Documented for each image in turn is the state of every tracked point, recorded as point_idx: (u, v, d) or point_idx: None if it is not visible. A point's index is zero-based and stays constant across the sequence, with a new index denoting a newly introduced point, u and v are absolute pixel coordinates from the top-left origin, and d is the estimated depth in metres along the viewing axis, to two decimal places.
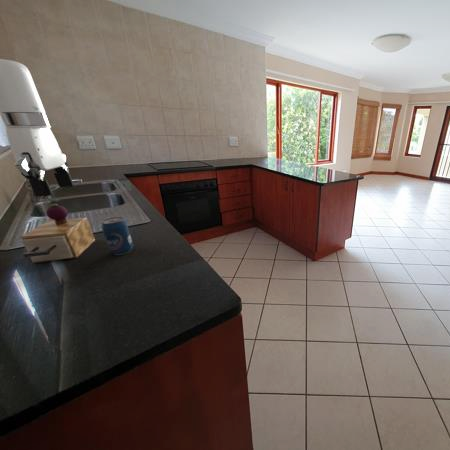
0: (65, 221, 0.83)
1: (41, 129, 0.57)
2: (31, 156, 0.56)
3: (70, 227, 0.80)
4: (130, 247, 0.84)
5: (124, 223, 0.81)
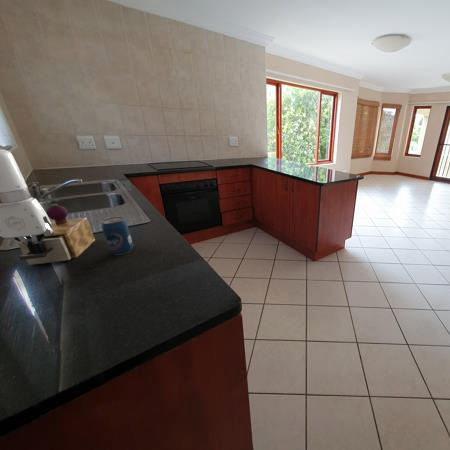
0: (65, 221, 0.83)
1: None
2: (47, 218, 0.70)
3: (70, 227, 0.80)
4: (130, 247, 0.84)
5: (124, 223, 0.81)
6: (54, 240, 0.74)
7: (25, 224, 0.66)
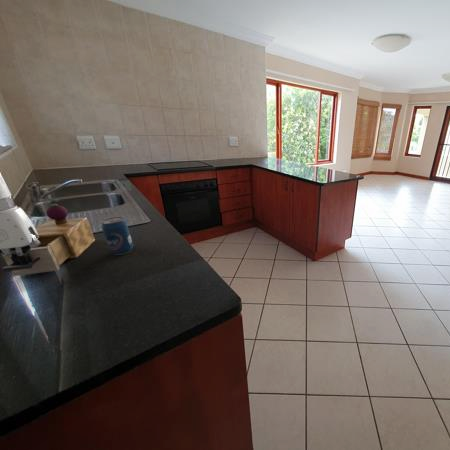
0: (65, 221, 0.83)
1: None
2: (33, 229, 0.65)
3: (70, 227, 0.80)
4: (130, 247, 0.84)
5: (124, 223, 0.81)
6: (41, 249, 0.69)
7: (8, 235, 0.61)
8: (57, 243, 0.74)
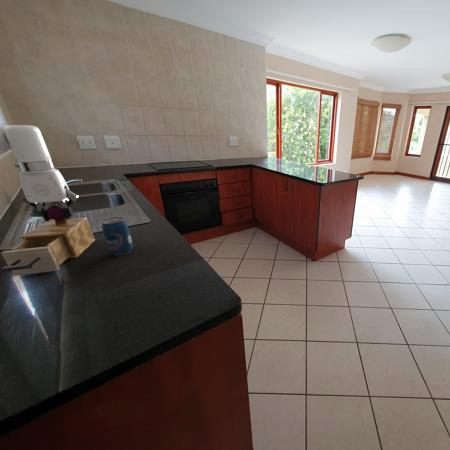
0: (65, 221, 0.83)
1: None
2: (67, 188, 0.81)
3: (70, 227, 0.80)
4: (130, 247, 0.84)
5: (124, 223, 0.81)
6: (41, 249, 0.69)
7: (49, 191, 0.77)
8: (58, 243, 0.74)
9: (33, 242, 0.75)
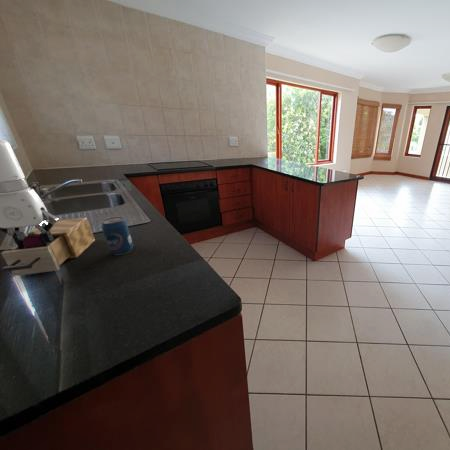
0: None
1: None
2: (44, 209, 0.70)
3: (70, 227, 0.80)
4: (130, 247, 0.84)
5: (124, 223, 0.81)
6: (41, 249, 0.69)
7: (22, 214, 0.66)
8: (58, 243, 0.74)
9: None
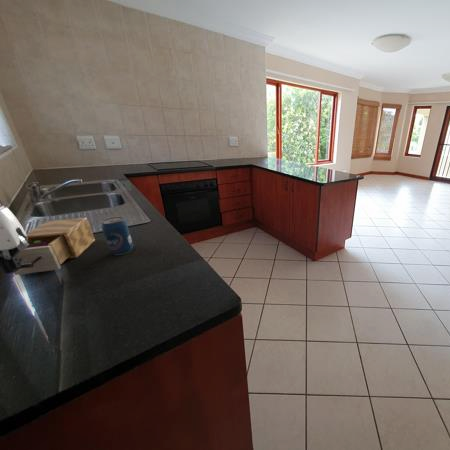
0: None
1: None
2: (21, 230, 0.61)
3: (70, 227, 0.80)
4: (130, 247, 0.84)
5: (124, 223, 0.81)
6: (42, 248, 0.69)
7: None
8: (59, 242, 0.75)
9: (34, 241, 0.76)
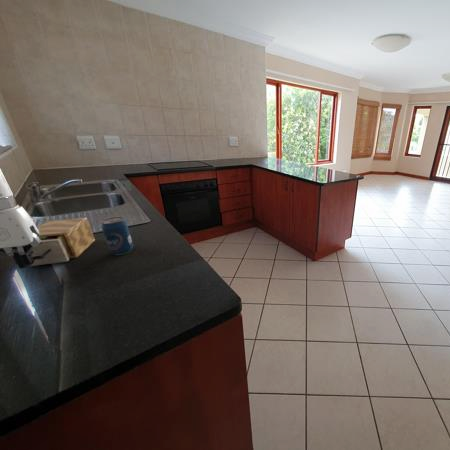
0: None
1: None
2: (34, 228, 0.66)
3: (70, 227, 0.80)
4: (130, 247, 0.84)
5: (124, 223, 0.81)
6: (52, 241, 0.73)
7: (10, 234, 0.62)
8: None
9: None
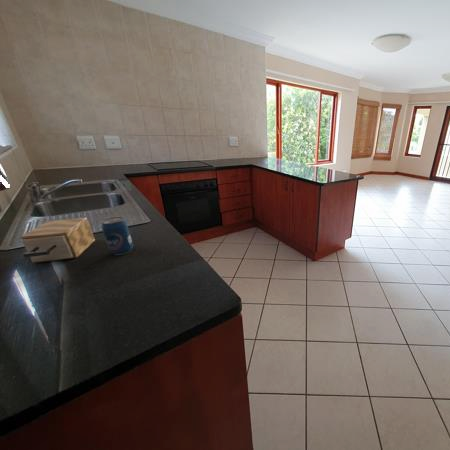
0: None
1: None
2: (0, 169, 0.58)
3: (70, 227, 0.80)
4: (130, 247, 0.84)
5: (124, 223, 0.81)
6: (57, 238, 0.76)
7: None
8: None
9: None
